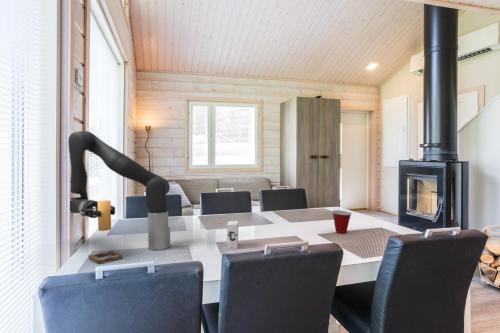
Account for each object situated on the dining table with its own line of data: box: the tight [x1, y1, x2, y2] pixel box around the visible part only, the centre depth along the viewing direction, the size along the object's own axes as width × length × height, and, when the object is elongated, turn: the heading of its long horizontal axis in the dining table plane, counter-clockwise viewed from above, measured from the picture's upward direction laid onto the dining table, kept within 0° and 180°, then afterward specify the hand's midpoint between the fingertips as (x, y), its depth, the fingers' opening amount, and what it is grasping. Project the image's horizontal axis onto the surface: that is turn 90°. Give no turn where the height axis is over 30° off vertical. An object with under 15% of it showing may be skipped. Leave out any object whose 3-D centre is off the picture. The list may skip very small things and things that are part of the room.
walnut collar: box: [87, 250, 123, 265], centre depth 136 cm, size 10×10×2 cm
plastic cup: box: [331, 209, 353, 235], centre depth 181 cm, size 11×11×12 cm
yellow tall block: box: [97, 199, 112, 232], centre depth 136 cm, size 5×5×12 cm
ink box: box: [226, 220, 239, 250], centre depth 154 cm, size 8×5×12 cm, turn 0°
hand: (107, 213), depth 134 cm, fingers closed on yellow tall block, 5 cm apart
